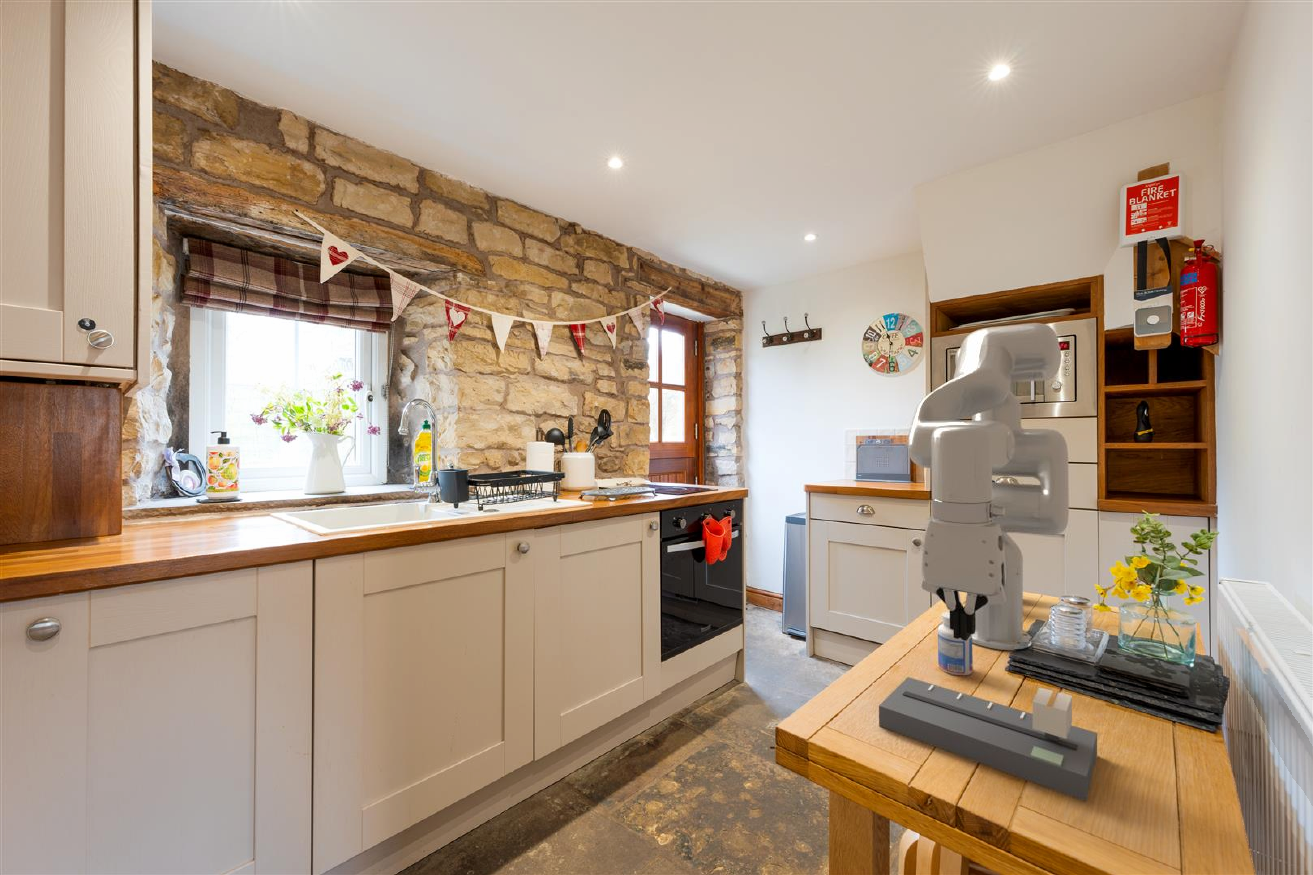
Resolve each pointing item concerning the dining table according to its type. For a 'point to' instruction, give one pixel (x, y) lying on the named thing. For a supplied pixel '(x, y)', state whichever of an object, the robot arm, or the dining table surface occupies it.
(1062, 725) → the fader
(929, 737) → the console
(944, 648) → the pill bottle
